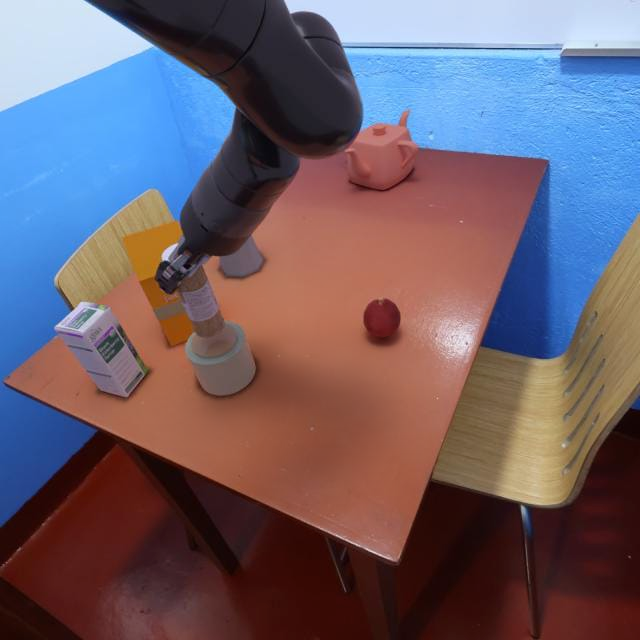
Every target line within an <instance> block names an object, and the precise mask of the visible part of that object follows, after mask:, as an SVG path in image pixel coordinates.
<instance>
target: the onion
mask: <svg viewBox="0 0 640 640" xmlns="http://www.w3.org/2000/svg"><path fill="white" fill-rule="evenodd" d="M362 317H363V318H362V319H363V320H362V321H363V325H364V327H365V329H366V330H367V332H368V333H369V334H371V335H373V336H376V337H378V338H379V337H382V338H385V337H388V336H391V335H393V334H394V333H396V332H397V330H398V329H399V328H400V325H401V320H402V319H401V317H402V315H401V311H400V309H399V307H398V306H397V304H396V303H395V302H394V301H392V300H391V299H389V298H384V297H377V298H376V299H373V300H372V301H370V302H369V303H368V304H367V305H366V307H365V309H364V311H363V316H362Z"/></svg>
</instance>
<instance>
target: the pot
mask: <svg viewBox="0 0 640 640" xmlns="http://www.w3.org/2000/svg"><path fill="white" fill-rule="evenodd" d="M410 113H411V109H406V110H405V111H403V113H402V114H400V117H399V120H398V123H397V124H391V123H385V122H376V123H373V124H371V125H369V126H367V127H366V128H363V129H362V130H360V132H359V134H358V136H357V138H356V139H355V141H354V142H353V143H352V144H351V145H350V146H349V147H348V148H347V149H346V150H345V151H344V152H345V153H347V176H348V177H349V180H350V181H351V182H352V183H353V184H357V185H359V186H363V187H367V188H370V189H374V190H379V191H384V190H385V191H386V190H388V189H390V188H392V187H393V186H396V185H397V184H398V183H400V182H401V181H403V180H404V179H405V178H406V177H407V176H408V175H410V173H411V172H412V170H413V168H414V165H415V162H416V159H415V158H416V156H417V155H418V152H419V148H420V147H419V145H418V143H416V142H415V141H413V139H412V136H411V133H410V130H409V128H408V125H407V124H408V118H409V115H410Z"/></svg>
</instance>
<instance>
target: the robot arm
mask: <svg viewBox="0 0 640 640" xmlns="http://www.w3.org/2000/svg"><path fill="white" fill-rule="evenodd" d="M83 1H84V2H86V3H87V4H89V5H91V6H92V7H93V8H95V9H97V10H99V11H100V12H101V13H103V14H105V15H106V16H108V17H109V18H111V19H112V20H114V21H116V22H117V23H119V24H120V25H122V26H123V27H125V28H126V29H128V30H129V31H131V32H132V33H134V34H135V35H137V36H139V37H140V38H142V39H143V40H145V41H146V42H148V43H149V44H150V45H152V46H154V47H155V48H157V49H159V51H161V52H163V53H165V54H166V55H168V56H170V57H171V58H172V59H174V60H176V61H177V62H179V63H180V64H182V65H183V66H184V67H186V68H188V69H189V70H191V71H193V72H194V73H196V74H198V75H199V76H201V77H203V78H204V79H205V80H208V81H209V82H211V83H212V84H214V85H215V86H216V87H218V88H219V90H221V92H222V93H223V94H224V95H225V96H226V97H227V98H228V99H229V100H230V102H231V103H232V104H233V105H234V106H235V107H234V112H233V118H232V123H231V126H230V130H229V131H228V134H227V135H226V136H225V138H224V139H223V141H222V143H221V144H220V146H219V148H218V150H217V152H216V153H215V155H214V157H213V159H212V160H211V161H210V162H209V163H208V164H207V166H206V167H205V168H204V169H203V171H202V173H201V174H200V176H199V178H198V180H196V183H195V185H194V186H193V188H192V190H191V192H190V194H189V196H187V199H186V201H185V203H184V204H183V206H182V208H181V210H180V214H179V224H180V226H181V229H182V231H183V235H182V236H181V237H180V239H179V240H178V245H177V246H176V248H175V249H174V250H173V252H172V253H171V254H170V256H169V257H168V260H169V261H168V260H167V261H166V260H164V261H163V262H161V263H160V264H159V267H158V268H157V272H156V275H155V278H154V280H155V281H157V282H158V284H159V287H160V288H161V289H162V290H163V291H164V292H165V293H167V294H170V295H172V294H173V293H174V292H175V291H176V290H177V288H178V287H179V286H180V284H181V285H182V284H183V282H184V280H185V278H186V277H191V276H192V275H194V274H195V273H196V272H197V271H198V269H199V268H200V267H201V266H203V265H205V264H206V263H207V262H209V260H211V258H212V257H219V256H228V255H231V254H233V253H235V252H236V251H238V250H239V249H240V248H241V246H242V245H243V244H244V243H245V242H246V240H247V239H248V238H249V237H250V236H251V235H252V236H253V233H255V231H256V230H257V229H258V228H259V226H260V225H261V224H262V223H263V222H264V220H265V219H266V218H267V216H268V215H269V213H270V211H271V209H272V207H273V206H274V205H275V203H276V202H277V201H278V200H279V198H280V197H281V195H283V193H284V192H285V191H286V190H287V189H288V188H289V186H290V185H291V184H292V182H293V181H294V180H295V178H296V177H297V174H298V172H299V170H300V167H301V166H300V165H301V159H305V160H311V161H312V160H314V161H316V160H317V161H319V160H326V159H330V158H334V157H336V156H338V155H340V154H342V153H344V152H345V150H346V149H348V147H349V146H350V145H351V144H352V143H353V142H354V141H355V139H356V138H357V136H358V134H359V132H361V129H362V126H363V122H364V114H365V113H364V103H363V97H362V94H361V91H360V88H359V87H358V83H357V80H356V78H355V75H354V73H353V71H352V68H351V65H350V62H349V60H348V57H347V55H346V52H345V49H344V46H343V43H342V40H341V38H340V36H339V34H338V32H337V31H336V28H335V27H334V26H333V24H332V23H331V22H330V21H329V20H328V19H326V17H324V16H323V15H321V14H319V13H317V12H314V11H306V10H302V11H301V10H299V11H295V12H290V10H289V7H288V5H287V3H286V1H285V0H83ZM194 264H196V265H195V266H192V265H194ZM179 270H180V271H182V272H180V271H179Z"/></svg>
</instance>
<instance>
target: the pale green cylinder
mask: <svg viewBox="0 0 640 640" xmlns="http://www.w3.org/2000/svg"><path fill="white" fill-rule="evenodd" d="M224 321H225V326H224V328H223V330H222V331H221V332H220V333H219V334H217V335H215V336H212V337H209V338H202V337H199V336H197V335H196V334H195V332H194V333H193V334H192V335H191V336H190V337H189V339H188V340H187V341H186V343H185V346H184V347H185V348H184V352H185V355H186V358H187V360H188V362H189V363H190V365H191V368H192V370H193V371H194V374H195V376H196V378H197V380H198V382H199V385H200V386H201V388H202V389H203V390H204V392H206V393H207V394H209V395H213V396H216V397H217V396H219V397H221V396H229V395H233V394H236V393H238V392H240V391H242V390H243V389H244V388H246V387H247V386H248V385H249V384H250V383H251V382H252V381H253V379H254V378H255V374H256V370H257V366H256V363H255V359H254V356H253V353H252V351H251V348H250V344H249V342H248V339H247V335H246V332H245V330H244V328H243V327H242V326H241V325H240V324H238V323H237V322H234V321H230V320H224Z"/></svg>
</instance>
